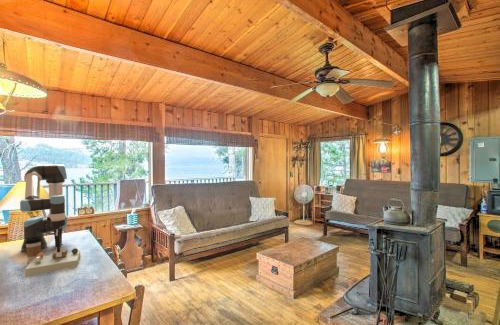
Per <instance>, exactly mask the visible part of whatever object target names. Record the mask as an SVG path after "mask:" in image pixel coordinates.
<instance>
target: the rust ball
mask: <svg viewBox="0 0 500 325" xmlns="http://www.w3.org/2000/svg"><path fill="white" fill-rule="evenodd" d="M43 256H45V253H44V252H40V253H39V254H37V257H41V258H42V257H43Z"/></svg>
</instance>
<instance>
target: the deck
mask: <svg viewBox="0 0 500 325" xmlns="http://www.w3.org/2000/svg"><path fill="white" fill-rule="evenodd" d="M80 259H81V250H78V252H77V253H76V254H73V253H72V251H71V252H67V255H66V256H64V257H58V258H52V254H51V255H44V256H43V257H42V261H41V262H39V263H35V261H34V260H35V258H33V260H32V261H31V262H28V265H27V266H26V267H25V268H24V276H25V277H26V276H33V275H40V274H44V273H49V272H55V271H60V270H66V269H72V268H77V267H78V265H79V262H80Z"/></svg>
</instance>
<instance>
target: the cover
mask: <svg viewBox="0 0 500 325" xmlns="http://www.w3.org/2000/svg"><path fill="white" fill-rule="evenodd" d="M67 253H68V248H62V256H61V257H64V256H66V255H67ZM51 255H52V258H58V257H56V249H55V250H53V252H52V254H51Z"/></svg>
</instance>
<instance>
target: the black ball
mask: <svg viewBox="0 0 500 325" xmlns="http://www.w3.org/2000/svg"><path fill="white" fill-rule="evenodd" d="M78 249H79V248H76V247H75V248H72V249H71V252H72V253H73V254H76V253H77V252H78V251H79V250H78Z"/></svg>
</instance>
